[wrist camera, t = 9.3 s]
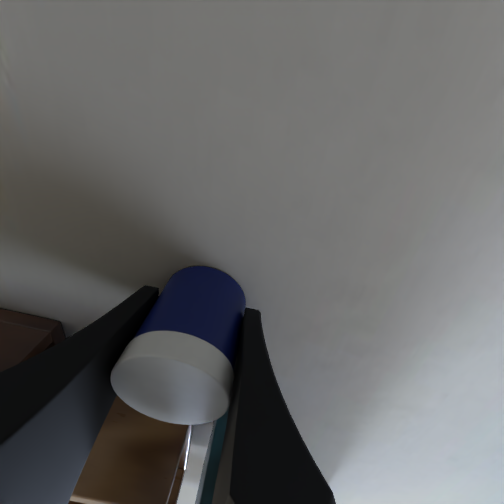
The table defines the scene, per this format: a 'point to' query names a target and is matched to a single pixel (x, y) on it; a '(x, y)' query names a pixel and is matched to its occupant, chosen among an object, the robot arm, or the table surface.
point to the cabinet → (25, 337)
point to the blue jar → (184, 350)
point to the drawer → (144, 460)
